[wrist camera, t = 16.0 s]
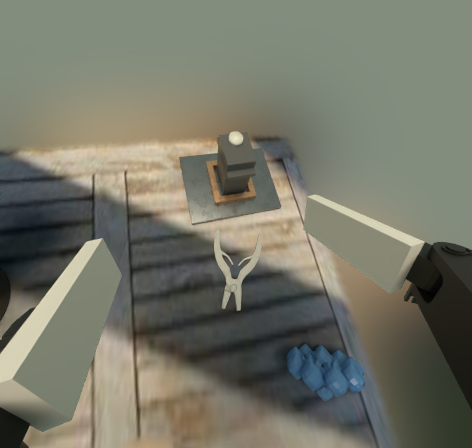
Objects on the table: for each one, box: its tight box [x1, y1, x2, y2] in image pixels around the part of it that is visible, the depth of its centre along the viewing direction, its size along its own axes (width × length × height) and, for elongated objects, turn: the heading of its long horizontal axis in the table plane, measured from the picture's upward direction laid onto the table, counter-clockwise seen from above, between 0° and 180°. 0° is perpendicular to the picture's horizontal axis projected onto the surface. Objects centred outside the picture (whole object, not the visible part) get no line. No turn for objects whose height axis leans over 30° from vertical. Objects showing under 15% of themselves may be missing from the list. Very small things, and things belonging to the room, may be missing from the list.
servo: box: [216, 132, 257, 196], centre depth 35 cm, size 5×8×12 cm, turn 15°
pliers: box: [214, 229, 262, 311], centre depth 36 cm, size 10×2×15 cm
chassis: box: [179, 148, 281, 225], centre depth 40 cm, size 20×16×2 cm
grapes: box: [287, 344, 365, 401], centre depth 27 cm, size 12×7×12 cm, turn 86°
